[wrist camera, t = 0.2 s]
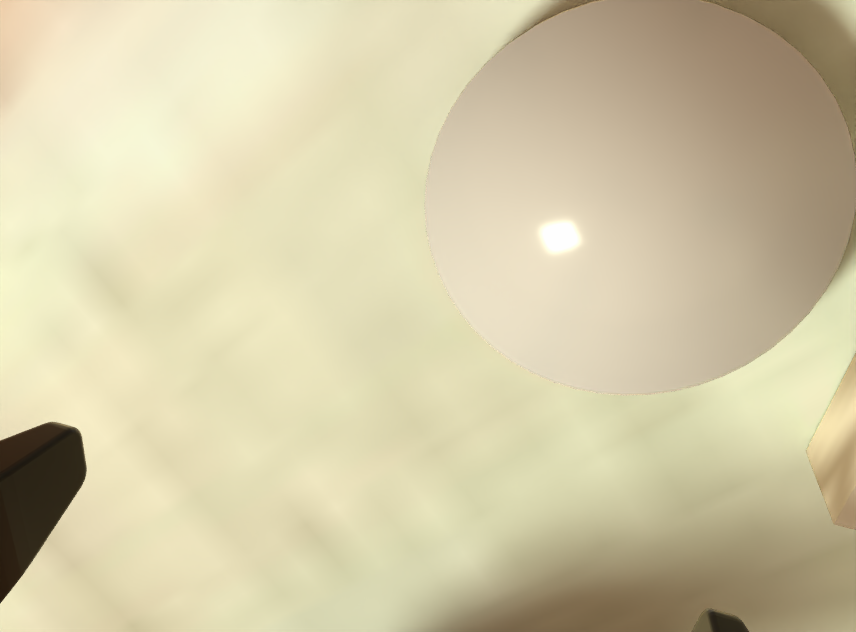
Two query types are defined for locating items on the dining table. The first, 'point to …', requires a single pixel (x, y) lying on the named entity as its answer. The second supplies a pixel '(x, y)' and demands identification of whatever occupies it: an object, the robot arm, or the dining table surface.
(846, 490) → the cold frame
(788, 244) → the saucer
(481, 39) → the dining table surface
